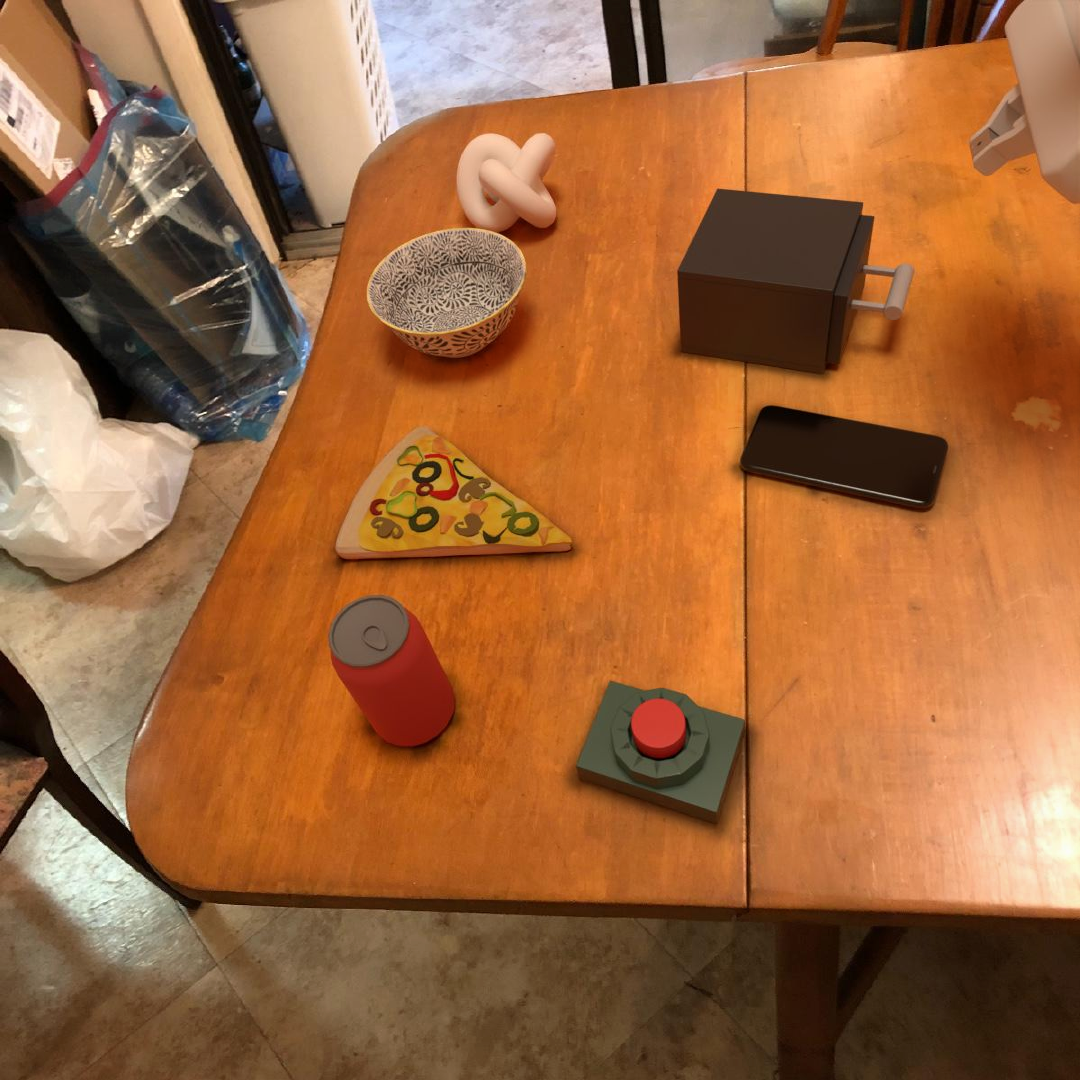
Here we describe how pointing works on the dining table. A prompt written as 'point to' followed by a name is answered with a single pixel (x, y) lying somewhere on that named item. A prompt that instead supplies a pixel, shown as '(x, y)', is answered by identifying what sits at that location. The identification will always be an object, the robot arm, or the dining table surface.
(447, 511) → the pizza slice
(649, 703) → the button
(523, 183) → the white knot sculpture
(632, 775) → the control block
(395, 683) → the beer can
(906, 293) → the pull-out drawer
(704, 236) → the drawer cabinet
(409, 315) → the bowl
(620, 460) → the dining table surface
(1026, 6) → the robot arm
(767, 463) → the smartphone
